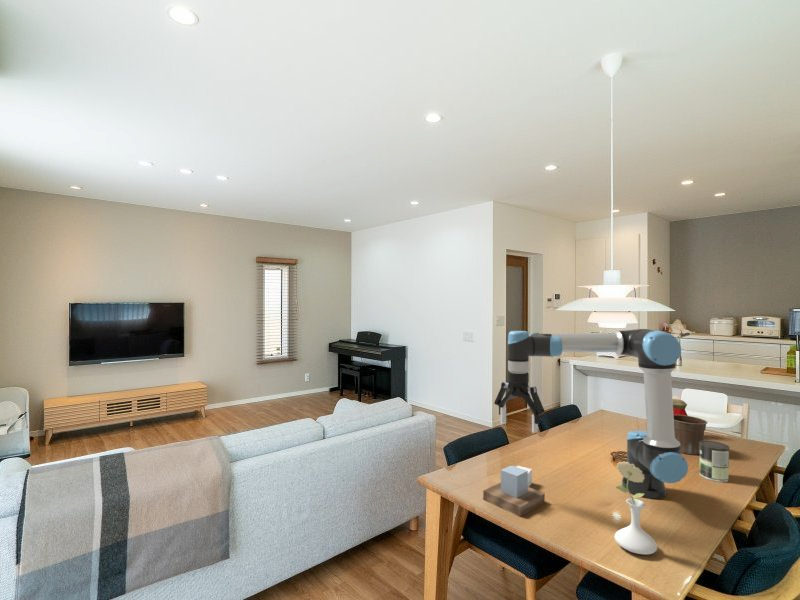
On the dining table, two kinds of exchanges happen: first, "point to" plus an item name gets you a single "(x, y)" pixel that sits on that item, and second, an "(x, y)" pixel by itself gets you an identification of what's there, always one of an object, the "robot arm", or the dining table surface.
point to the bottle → (679, 407)
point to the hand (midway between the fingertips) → (518, 427)
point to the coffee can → (714, 461)
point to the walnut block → (514, 500)
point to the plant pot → (689, 433)
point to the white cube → (528, 474)
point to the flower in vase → (634, 516)
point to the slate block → (514, 481)
